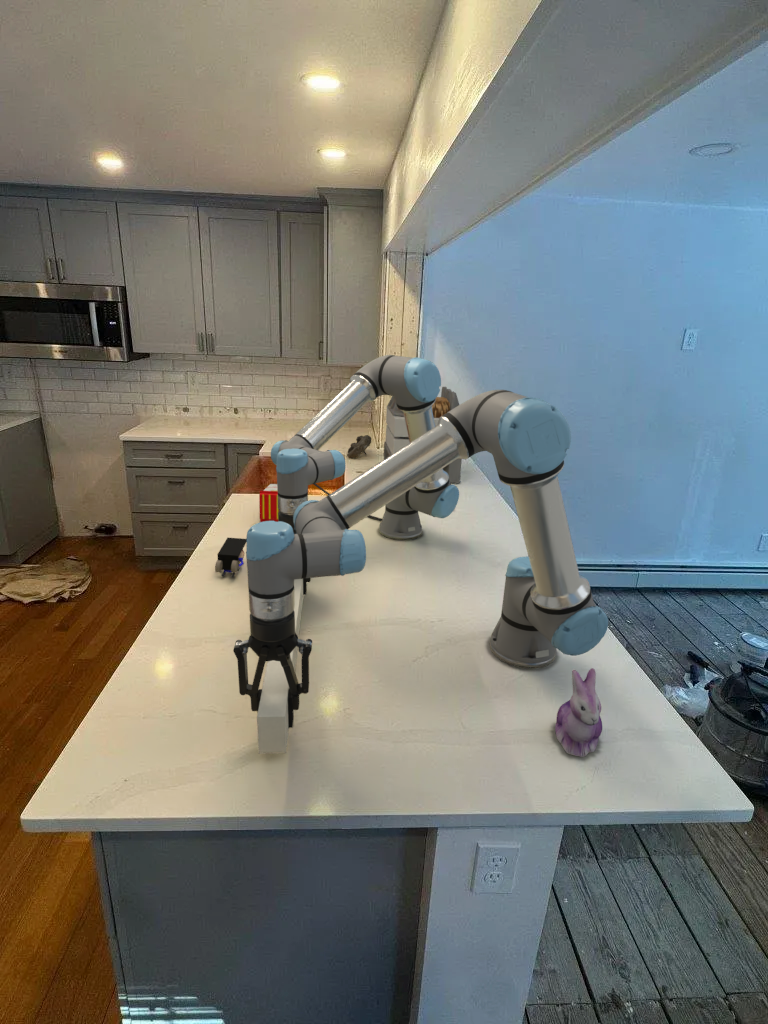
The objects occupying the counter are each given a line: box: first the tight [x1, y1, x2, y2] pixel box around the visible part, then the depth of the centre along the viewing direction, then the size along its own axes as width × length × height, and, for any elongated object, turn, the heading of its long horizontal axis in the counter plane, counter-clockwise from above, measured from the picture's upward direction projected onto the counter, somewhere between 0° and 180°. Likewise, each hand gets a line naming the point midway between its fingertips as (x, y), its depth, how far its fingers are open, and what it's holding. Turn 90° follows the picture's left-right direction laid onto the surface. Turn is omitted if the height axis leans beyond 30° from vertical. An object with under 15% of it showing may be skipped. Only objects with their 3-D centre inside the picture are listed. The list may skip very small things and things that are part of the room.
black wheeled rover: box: [214, 537, 247, 578], centre depth 166 cm, size 7×8×15 cm
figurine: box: [554, 667, 603, 758], centre depth 104 cm, size 9×10×15 cm
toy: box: [258, 483, 279, 523], centre depth 210 cm, size 12×13×30 cm
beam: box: [256, 579, 304, 755], centre depth 126 cm, size 64×5×8 cm, turn 5°
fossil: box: [347, 434, 372, 459], centre depth 303 cm, size 22×10×15 cm
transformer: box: [383, 386, 463, 484], centre depth 268 cm, size 34×33×41 cm
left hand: (294, 592), depth 151 cm, fingers closed on beam, 5 cm apart
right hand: (276, 722), depth 104 cm, fingers closed on beam, 5 cm apart
